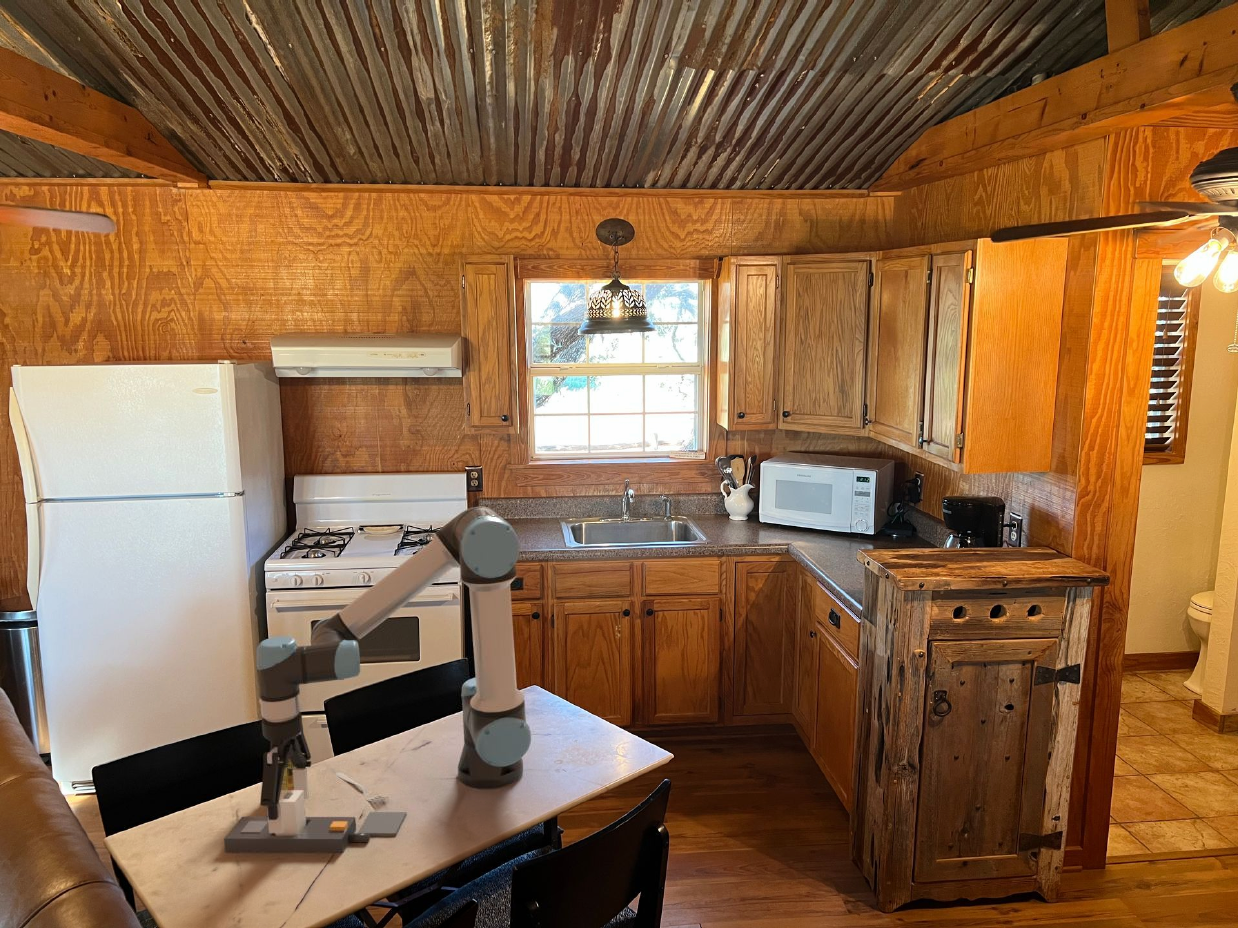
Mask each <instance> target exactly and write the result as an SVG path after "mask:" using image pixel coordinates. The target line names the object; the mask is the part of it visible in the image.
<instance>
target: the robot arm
mask: <svg viewBox="0 0 1238 928" xmlns="http://www.w3.org/2000/svg"><path fill="white" fill-rule="evenodd" d="M519 556H520V543H519V537H518V535H517V532H516V531H515V529H514V528H513V526H512V525H511V524H510V523H509V522H508V521H507V520H505V519H504V518H503V517H502V516H501V515H500V514H499V513H498V512H497V511H496V510H494V509H492V508H490V507H487V506H475V507H474V506H473V507H469V508H467V509H465V510H464V511H462V512H460V513H459V514H458V515H456V516H455V517H453V518H452V519H450V521H448V522H447V523H446V524H444V525H443V526H442V527H441V528H440V529H438V530H437V531H436V532H434V533H433V538H432V540H431V541H430V542H429V543H427V544H426V545H425V546H424V547H422V548H421V549H420V550H419V551H417V552H416V553H415V554H413V555H412V556H411V557H409V558H408V559H406V560H405V561H404V562H403V563H401V564H400V565H398V567H396V568H395V569H394V570H392V571H391V572H390V573H388V574H387V575H386V576H384V577H383V578H381V580H379V581H378V582H376V583H375V584H374V585H373V586H371V587H370V588H368V589H367V590H366V591H365V592H363V593H361V594H360V595H359V596H358V597H357V598H356V599H355V600H353V601H352V602H350V603H349V604H348V605H346V606H345V607H344V608H343V609H341V610H339V611H338V612H337V613H335V615H333V616H331V617H325V618H323V619H321V620H319V621H318V622H317V623H315V625H314V626H313V628H312V631H311V635H310V641H309V642H310V645H302V646H301V645H300V646H298V644H297V642H296V639H295V638H293V637H292V636H282V635H281V636H280V635H279V636H273V637H269V638H267V639H264V640H262V641H261V642H259V644H258V645H257V647H256V673H257V682H258V683H257V684H258V692H259V699H258V703H259V704H260V712H261V713H260V715H261V717H262V719H261V727H262V736H263V737H264V738H265V739H266V740H268V741H269V742H270V749H269V752H264V753H263V755H262V756H263V757H262V758H263V770H262V780H261V790H260V791H261V792H260V803H259V805H260V806H261V807H266V811H267V812H266V814H267V817H268V825H269V833H283V832H284V822H283V810H282V800H279V799H280V793H281V788H282V782H283V776H284V771H285V768H286V767H287V766H288V762H289V759H290V760H291V762H292V763H293V765H294V766H295V767H297V768H294V769H293V782H294V790H304V800H309V797H310V795H309V794H310V793H309V782H308V768H311V766H312V761H310V760H311V758H312V756H311V752H310V748H309V746H308V743H307V739H306V736H305V734H304V727H303V726H304V725H303V718H302V717H303V713H302V712H301V711H302V699H301V690H300V685H308V684H314V683H315V684H316V683H323V682H331V681H333V682H334V681H344V680H346V679H347V680H348V679H351V678H355V677H358V676H359V675H360V673H361V660H360V647H359V643H358V642H359V641H360V640H361V639H362V638H363V637H365V636H366V635H368V634H369V633H370V632H372V631H373V630H374V629H376V628H377V627H378V626H379V625H380V624H382V623H383V622H385V620H387V619H389V618H390V617H391V616H392V615H394V614H395V613H396V612H398V611H399V610H400V609H401V608H403V607H404V606H406V604H408V603H409V602H410V601H412V600H413V599H414V598H416V597H417V596H418V595H420V594H421V593H422V592H423V591H425V590H426V589H428V588H429V587H430V586H431V585H433V584H435V582H436V581H438V580H439V579H440V578H442V577H443V576H444V575H447V573H448V572H450V571H451V570H453V568H457V569H458V568H459V569H460V581H461V582H462V583H463V584H464V585H466V586H467V587H468V588H469V589H468V590H469V600H470V601H469V603H470V615H471V616H470V617H471V630H472V643H473V644H472V645H473V660H474V661H473V662H474V672H475V677H473V678H470V679H468V680H466V681H465V682H464V683H463V684H462V686H461V694H460V696H461V701H462V704H461V705H462V723H463V725H462V726H463V747H462V750H461V754H460V756H459V757H460V758H459V761H458V765H457V776H458V779H459V782H461V783H462V784H463V785H465V786H467V787H470V788H473V789H480V790H481V789H482V790H483V789H484V790H486V789H487V790H489V789H491V790H492V789H497V788H502V787H506V786H508V785H511V784H512V783H514V782H516V781H517V780H519V779H520V778H521V776H522V775H523V773H524V761H523V757H524V755H526V754H527V753H528V750H529V748H530V746H531V742H532V735H531V734H532V732H531V728H530V727H529V726H530V725H529V724H528V723H527V716H526V703H525V702H526V701H525V694H524V693H523V692H522V691H521V690H519V689H518V688H517V687H518V686H517V672H516V657H515V655H516V654H515V641H514V626H513V624H514V622H513V609H512V593H511V583H512V582H513V581H515V579H516V578H517V574H518V573H517V561H518V559H519ZM278 762H283V763H278Z"/></svg>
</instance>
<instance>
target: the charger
mask: <svg viewBox="0 0 1238 928" xmlns="http://www.w3.org/2000/svg"><path fill="white" fill-rule="evenodd" d="M279 800H282V810H283V822H284V832H283V833H275V834H276V836H300V835H301V833H302V832H303V830H304V829H305V827H306V817H307V815H306V806H305V804H306V803H305V799H304V790H282V791H281V793H280V799H279Z"/></svg>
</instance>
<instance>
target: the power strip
mask: <svg viewBox="0 0 1238 928" xmlns="http://www.w3.org/2000/svg"><path fill="white" fill-rule="evenodd" d="M356 824H357V823H356V816H306V827H305V829H304V830H303V832H302V833H301V835H300V836H276V834H275V833H269V825H268V816H241V817H240V818H239V819H238V820H237V822H236V823H235V824H234V826H233V827H232V828H231V829H230V831H229V832H228V833H227V834H226V835H225V836H224V838H223V842H224V852H225V853H275V854H276V853H277V854H278V853H281V854H282V853H284V854H285V853H289V854H290V853H291V854H292V853H295V854H296V853H301V854H302V853H303V854H304V853H305V854H307V853H309V854H310V853H312V854H314V853H315V854H316V853H317V854H318V853H319V854H321V853H322V854H331V853H333V854H343V853H344V852H345V851H346V849H347V847H348V845H349V843H369V842H370V840H371V836H370V834H358V833H356V831H357V825H356Z"/></svg>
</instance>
